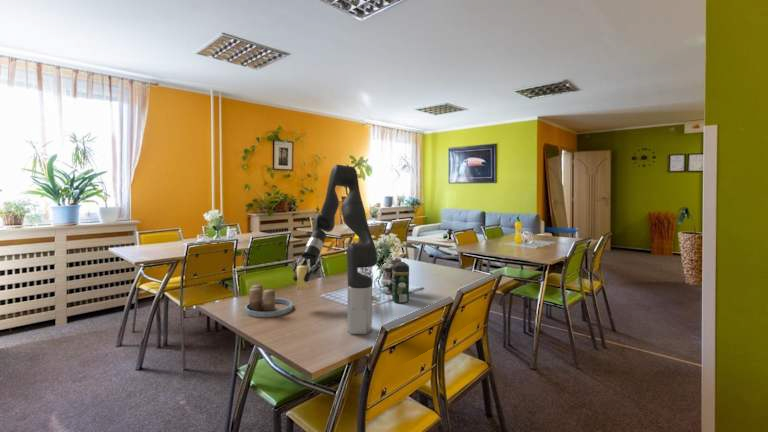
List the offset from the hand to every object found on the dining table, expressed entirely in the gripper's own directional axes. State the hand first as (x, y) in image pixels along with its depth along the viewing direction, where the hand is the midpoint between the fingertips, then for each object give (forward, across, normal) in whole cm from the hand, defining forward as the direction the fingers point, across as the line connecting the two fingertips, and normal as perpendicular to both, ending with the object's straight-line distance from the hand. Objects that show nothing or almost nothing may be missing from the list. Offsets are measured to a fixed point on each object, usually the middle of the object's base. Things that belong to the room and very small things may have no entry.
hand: (300, 280), depth 162 cm
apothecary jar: (-19, +31, +37) cm, 52 cm away
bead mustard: (+2, 0, +4) cm, 5 cm away
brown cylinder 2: (+16, -10, +3) cm, 19 cm away
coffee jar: (-10, +38, +29) cm, 49 cm away
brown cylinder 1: (+16, -16, +3) cm, 23 cm away
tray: (+12, -13, +6) cm, 19 cm away
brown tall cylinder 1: (+12, -19, +6) cm, 23 cm away
